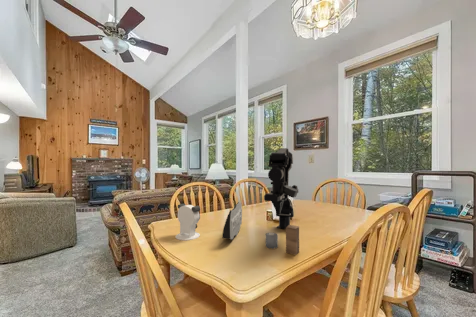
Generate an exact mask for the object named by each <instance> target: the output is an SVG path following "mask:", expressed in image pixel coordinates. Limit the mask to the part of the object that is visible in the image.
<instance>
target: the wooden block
mask: <svg viewBox="0 0 476 317" xmlns="http://www.w3.org/2000/svg"><path fill="white" fill-rule="evenodd" d="M285 252H286V253H287V254H291V255H295V256H297V254H298V253H300V226H299V225H293V224H290V225H288V226H287V227H286V229H285Z"/></svg>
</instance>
